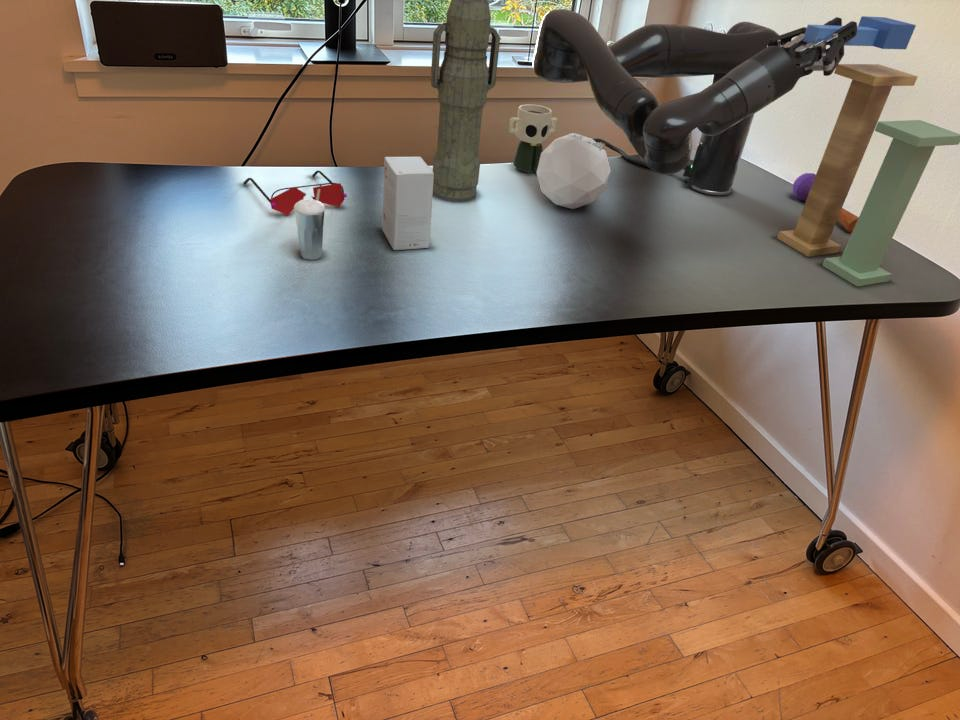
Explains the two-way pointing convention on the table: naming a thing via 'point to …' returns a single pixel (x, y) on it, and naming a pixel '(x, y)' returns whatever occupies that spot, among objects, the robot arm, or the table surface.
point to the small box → (407, 202)
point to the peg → (869, 33)
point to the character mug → (531, 134)
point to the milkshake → (310, 226)
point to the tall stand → (843, 155)
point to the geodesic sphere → (573, 170)
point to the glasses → (293, 195)
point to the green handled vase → (462, 96)
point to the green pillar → (888, 198)
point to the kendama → (802, 191)
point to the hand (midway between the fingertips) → (847, 25)
